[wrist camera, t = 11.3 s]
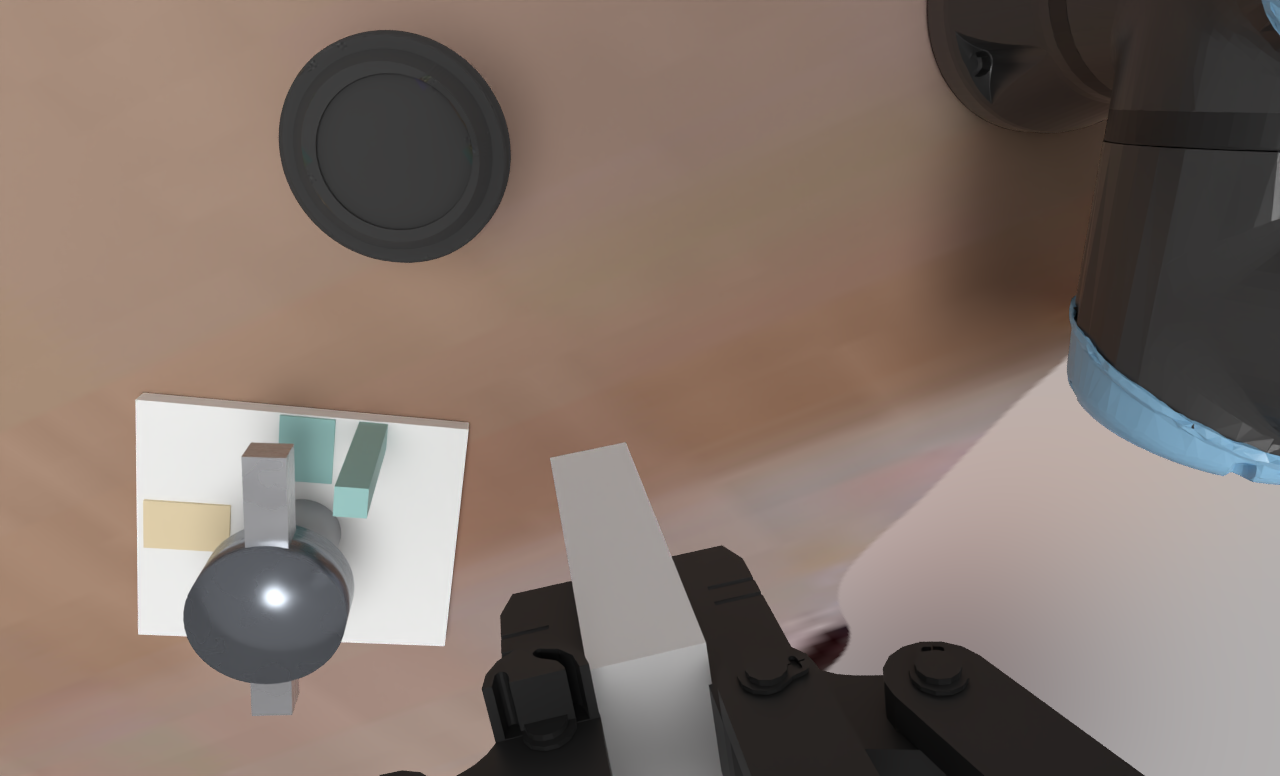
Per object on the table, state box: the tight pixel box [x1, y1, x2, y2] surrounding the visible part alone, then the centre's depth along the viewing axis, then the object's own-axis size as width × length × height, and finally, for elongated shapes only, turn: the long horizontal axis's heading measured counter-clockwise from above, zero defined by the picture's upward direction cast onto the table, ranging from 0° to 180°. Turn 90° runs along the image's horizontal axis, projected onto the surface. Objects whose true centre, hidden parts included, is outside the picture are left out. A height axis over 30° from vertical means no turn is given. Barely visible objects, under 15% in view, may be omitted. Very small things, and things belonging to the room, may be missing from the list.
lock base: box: [136, 393, 469, 646], centre depth 48 cm, size 18×15×10 cm
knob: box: [183, 442, 354, 716], centre depth 44 cm, size 15×8×3 cm, turn 174°
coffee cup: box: [279, 30, 511, 263], centre depth 39 cm, size 9×9×15 cm
